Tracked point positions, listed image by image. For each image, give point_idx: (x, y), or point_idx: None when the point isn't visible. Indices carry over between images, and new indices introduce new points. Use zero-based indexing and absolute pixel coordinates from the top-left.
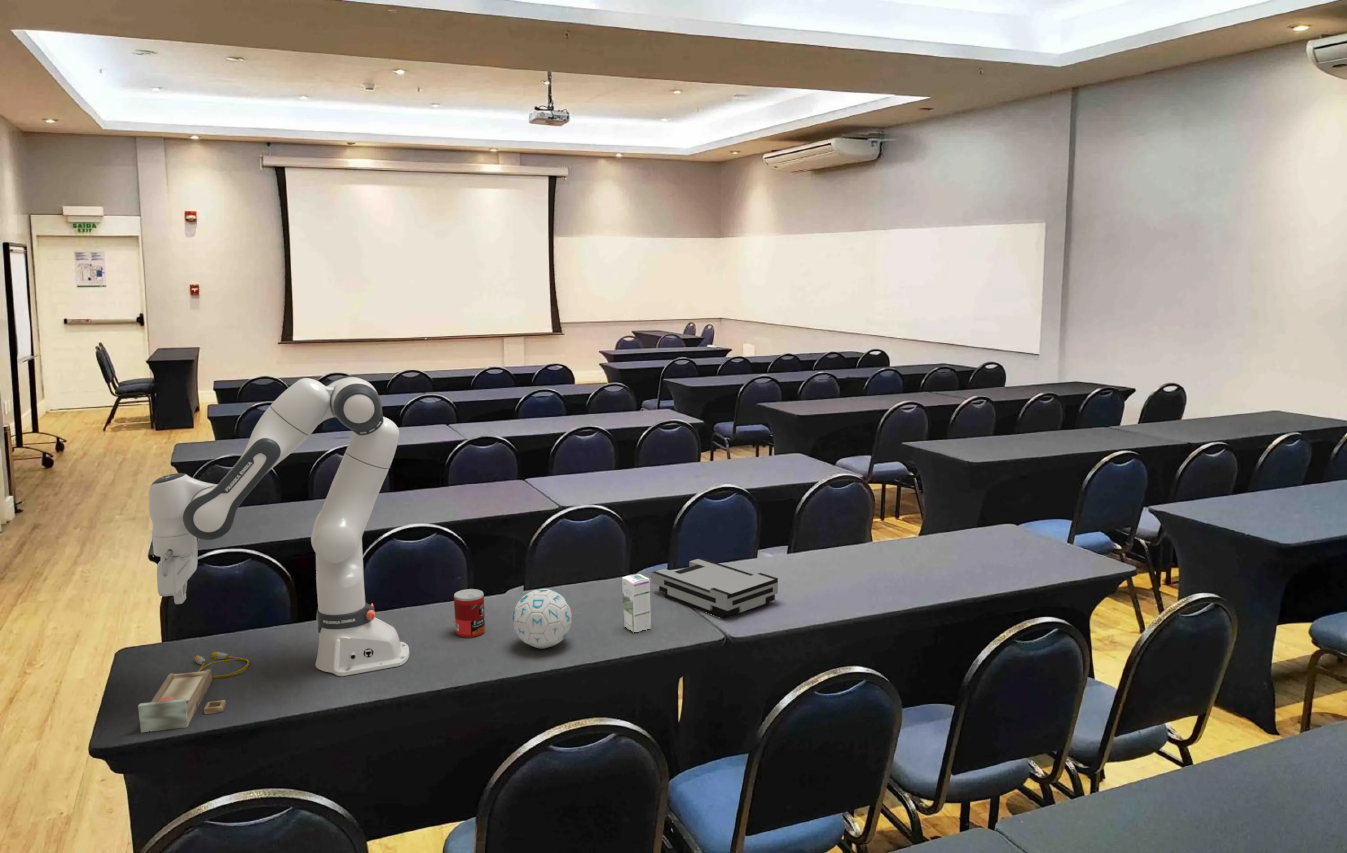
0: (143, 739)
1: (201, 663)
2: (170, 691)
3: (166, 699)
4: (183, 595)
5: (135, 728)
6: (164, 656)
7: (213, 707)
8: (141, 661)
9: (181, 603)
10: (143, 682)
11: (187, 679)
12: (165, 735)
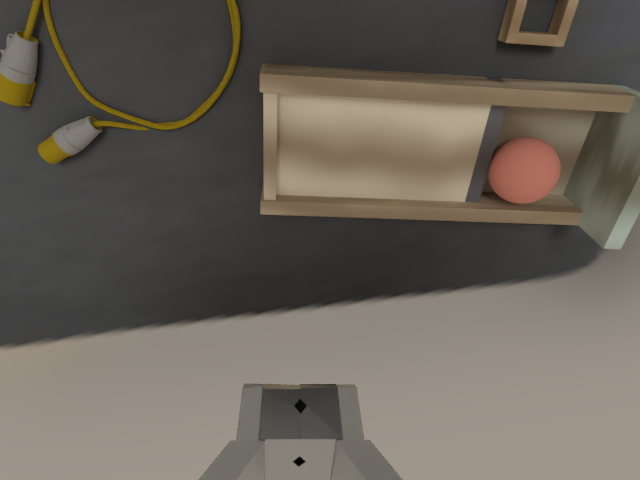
0: None
1: (101, 130)
2: (384, 183)
3: (550, 179)
4: (330, 434)
5: None
6: (13, 256)
7: (569, 11)
8: (55, 304)
9: (355, 387)
10: (218, 268)
11: (296, 149)
12: None
